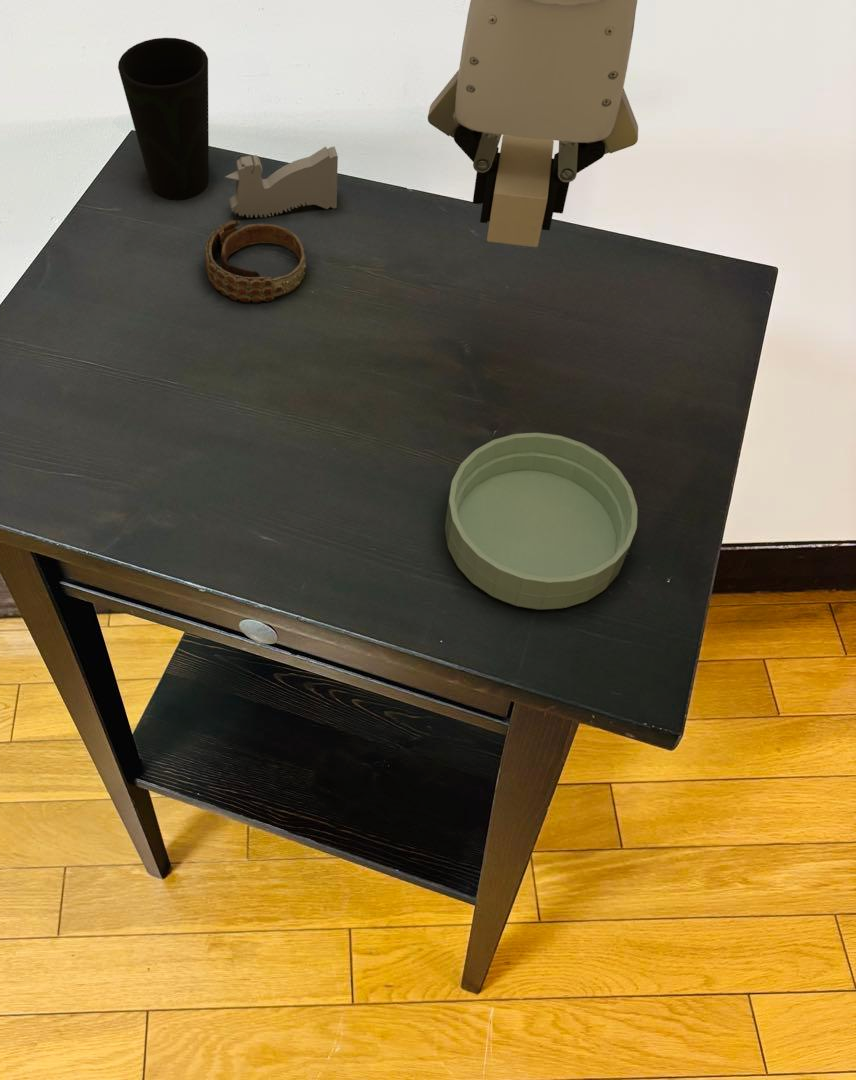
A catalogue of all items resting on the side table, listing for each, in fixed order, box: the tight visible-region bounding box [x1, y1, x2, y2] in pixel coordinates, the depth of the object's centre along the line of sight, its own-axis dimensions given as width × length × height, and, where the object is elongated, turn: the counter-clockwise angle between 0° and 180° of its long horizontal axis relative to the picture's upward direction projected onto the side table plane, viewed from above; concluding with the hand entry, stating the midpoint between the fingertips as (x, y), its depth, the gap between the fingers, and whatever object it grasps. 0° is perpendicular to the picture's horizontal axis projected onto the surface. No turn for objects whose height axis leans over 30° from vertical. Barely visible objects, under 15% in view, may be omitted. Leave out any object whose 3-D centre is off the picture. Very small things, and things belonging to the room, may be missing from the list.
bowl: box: [444, 432, 639, 611], centre depth 75 cm, size 13×13×4 cm
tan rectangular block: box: [486, 135, 555, 248], centre depth 73 cm, size 6×4×4 cm, turn 169°
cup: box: [117, 37, 210, 201], centre depth 95 cm, size 8×8×12 cm
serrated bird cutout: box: [224, 146, 339, 219], centre depth 95 cm, size 6×1×10 cm
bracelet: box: [204, 219, 307, 304], centre depth 92 cm, size 9×9×3 cm
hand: (516, 211), depth 75 cm, fingers closed on tan rectangular block, 3 cm apart
